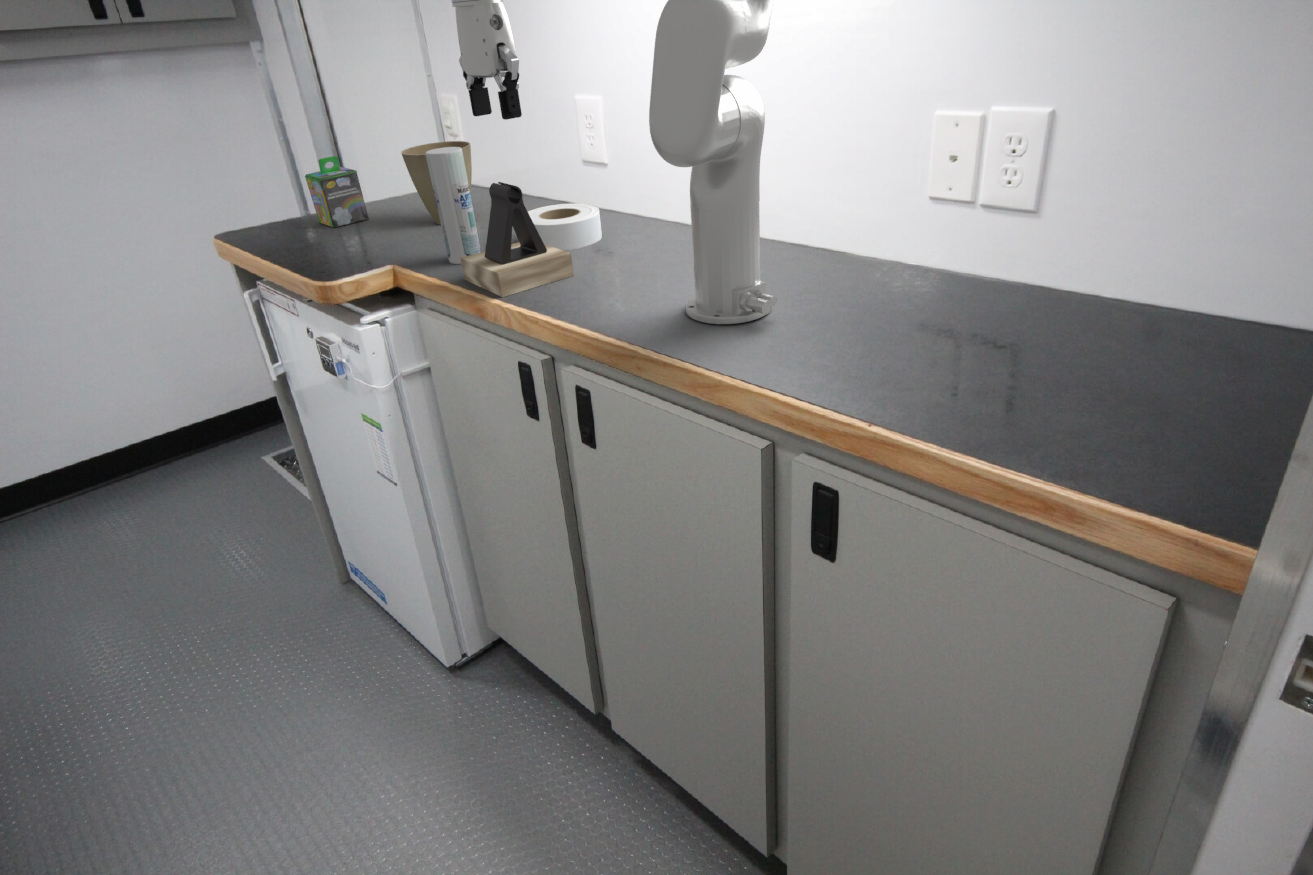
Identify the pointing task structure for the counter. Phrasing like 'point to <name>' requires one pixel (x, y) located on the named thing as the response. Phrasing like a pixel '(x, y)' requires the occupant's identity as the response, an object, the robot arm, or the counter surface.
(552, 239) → the roll of tape
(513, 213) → the black triangular stand
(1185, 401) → the counter surface
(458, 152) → the spray can
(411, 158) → the plant pot
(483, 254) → the birch base
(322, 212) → the chalk box
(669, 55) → the robot arm
